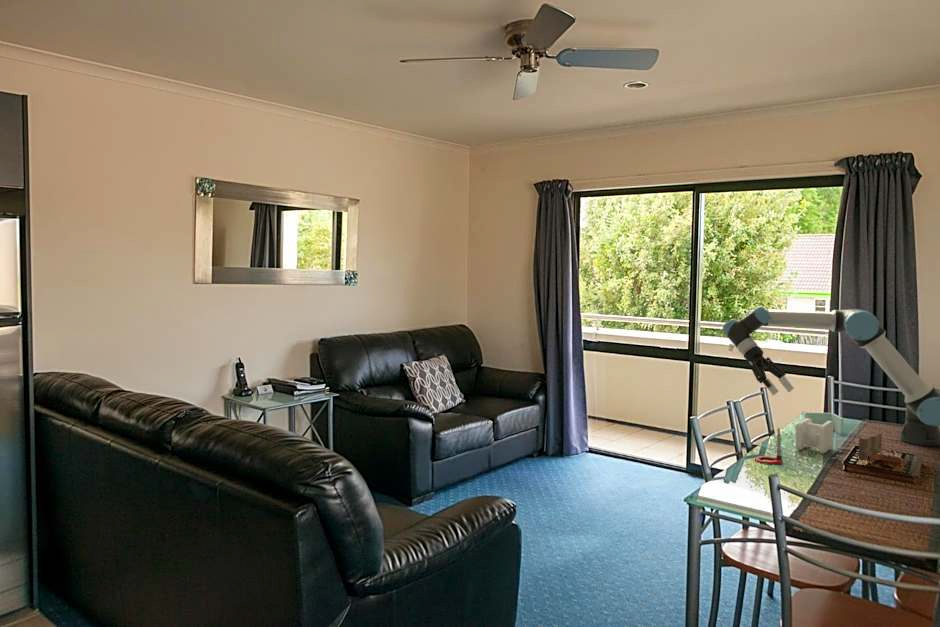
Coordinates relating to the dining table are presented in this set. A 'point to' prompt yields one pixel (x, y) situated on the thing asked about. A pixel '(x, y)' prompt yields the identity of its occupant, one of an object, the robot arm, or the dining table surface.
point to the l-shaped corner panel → (824, 417)
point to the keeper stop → (869, 445)
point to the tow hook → (779, 457)
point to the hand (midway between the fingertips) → (783, 391)
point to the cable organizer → (814, 435)
